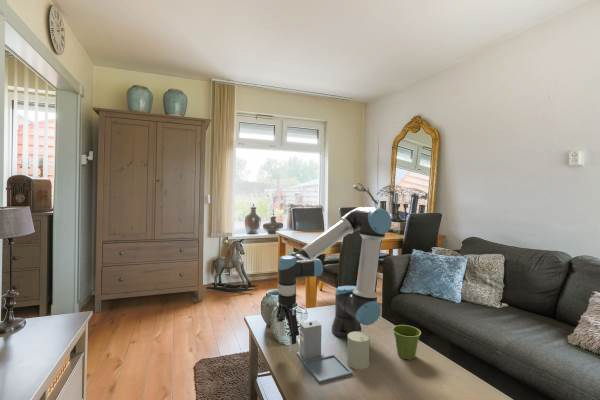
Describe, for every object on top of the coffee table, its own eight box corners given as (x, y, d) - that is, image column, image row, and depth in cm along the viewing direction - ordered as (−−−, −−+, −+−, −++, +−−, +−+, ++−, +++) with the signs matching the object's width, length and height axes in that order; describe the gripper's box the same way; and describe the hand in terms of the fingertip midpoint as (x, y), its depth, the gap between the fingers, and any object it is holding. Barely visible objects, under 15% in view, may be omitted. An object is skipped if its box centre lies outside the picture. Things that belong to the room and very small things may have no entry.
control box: (317, 349, 143) (317, 317, 142) (324, 357, 136) (324, 324, 136) (296, 354, 139) (296, 321, 138) (303, 362, 132) (303, 328, 132)
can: (356, 371, 125) (356, 342, 125) (342, 360, 134) (342, 332, 133) (373, 366, 130) (374, 337, 129) (359, 355, 138) (360, 328, 138)
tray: (334, 356, 137) (334, 353, 137) (352, 375, 123) (352, 372, 123) (303, 363, 131) (303, 361, 131) (319, 383, 118) (319, 380, 117)
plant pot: (424, 355, 138) (425, 330, 138) (413, 366, 130) (414, 339, 129) (399, 346, 146) (399, 322, 146) (387, 355, 138) (387, 330, 137)
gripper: (269, 285, 142) (269, 332, 143) (289, 304, 119) (289, 359, 120) (285, 283, 145) (284, 329, 146) (307, 302, 122) (307, 355, 123)
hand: (286, 343), depth 133 cm, fingers open, 13 cm apart
